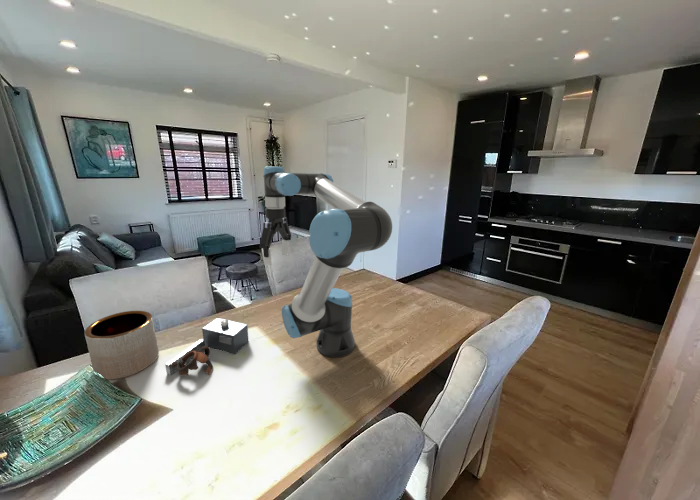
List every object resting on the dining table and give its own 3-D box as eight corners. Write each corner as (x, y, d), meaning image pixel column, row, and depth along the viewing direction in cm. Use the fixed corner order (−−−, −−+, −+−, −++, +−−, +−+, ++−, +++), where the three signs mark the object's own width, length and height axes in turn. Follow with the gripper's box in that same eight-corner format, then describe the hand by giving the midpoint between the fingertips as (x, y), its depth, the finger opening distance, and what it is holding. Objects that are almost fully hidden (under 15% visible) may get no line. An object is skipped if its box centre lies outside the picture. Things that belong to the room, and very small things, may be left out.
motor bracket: (248, 342, 111) (247, 319, 108) (201, 384, 88) (197, 358, 86) (219, 335, 114) (216, 313, 112) (166, 374, 92) (162, 348, 89)
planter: (106, 353, 101) (96, 314, 97) (163, 343, 108) (157, 306, 104) (84, 388, 86) (72, 343, 81) (153, 373, 92) (145, 332, 88)
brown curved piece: (208, 382, 90) (190, 367, 86) (185, 389, 92) (167, 375, 89) (223, 351, 101) (207, 337, 97) (202, 358, 103) (186, 344, 99)
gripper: (283, 203, 121) (284, 250, 127) (246, 211, 98) (250, 267, 104) (298, 204, 119) (299, 252, 125) (265, 212, 96) (268, 270, 102)
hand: (277, 259), depth 114 cm, fingers open, 13 cm apart
